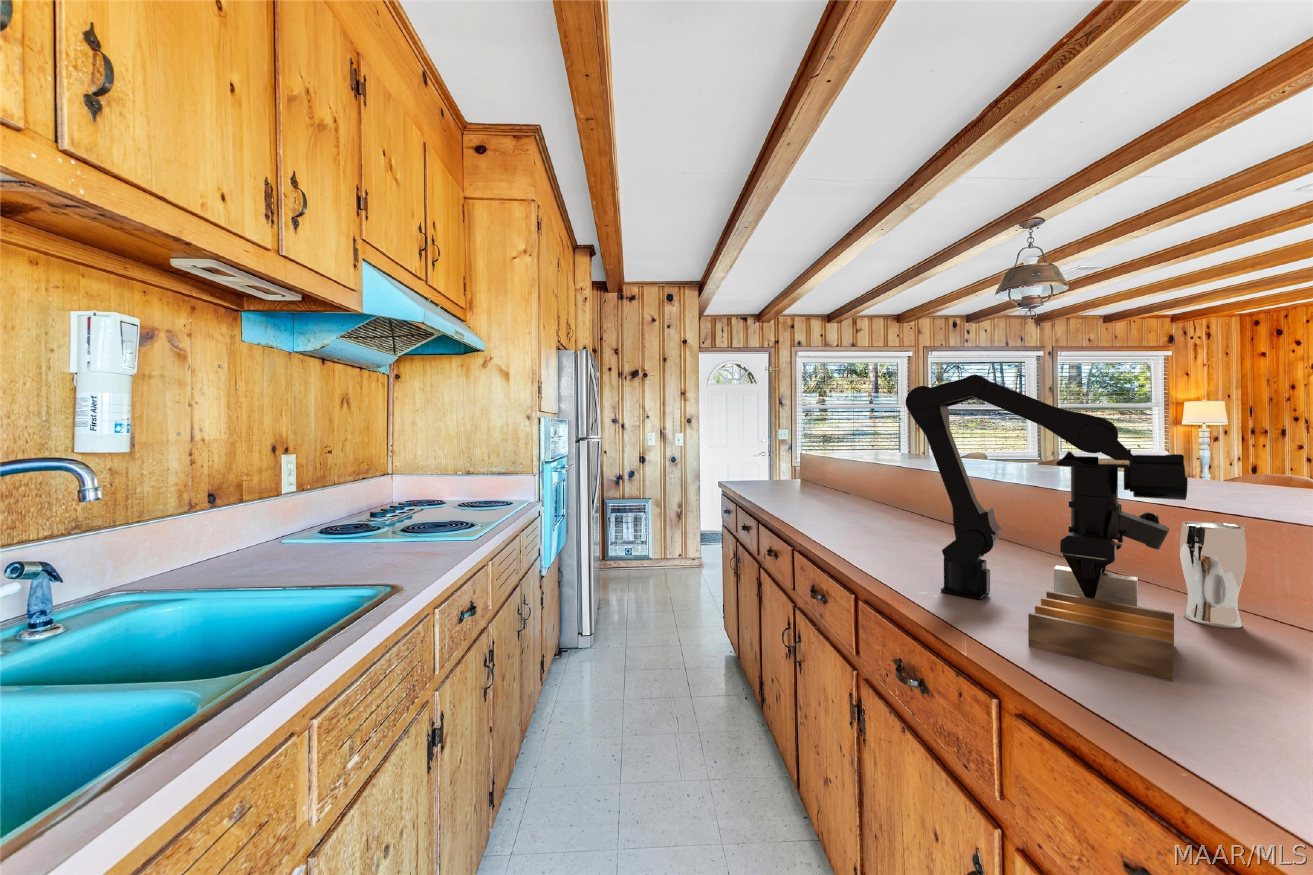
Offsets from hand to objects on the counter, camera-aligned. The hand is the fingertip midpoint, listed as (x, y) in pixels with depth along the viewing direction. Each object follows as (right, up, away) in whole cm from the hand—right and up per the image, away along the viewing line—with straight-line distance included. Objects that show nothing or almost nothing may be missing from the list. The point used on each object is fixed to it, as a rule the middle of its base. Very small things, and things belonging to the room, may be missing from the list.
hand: (1093, 591), depth 81 cm
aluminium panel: (0, -4, 0) cm, 4 cm away
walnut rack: (-9, -4, -11) cm, 15 cm away
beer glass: (+16, -4, -3) cm, 17 cm away
